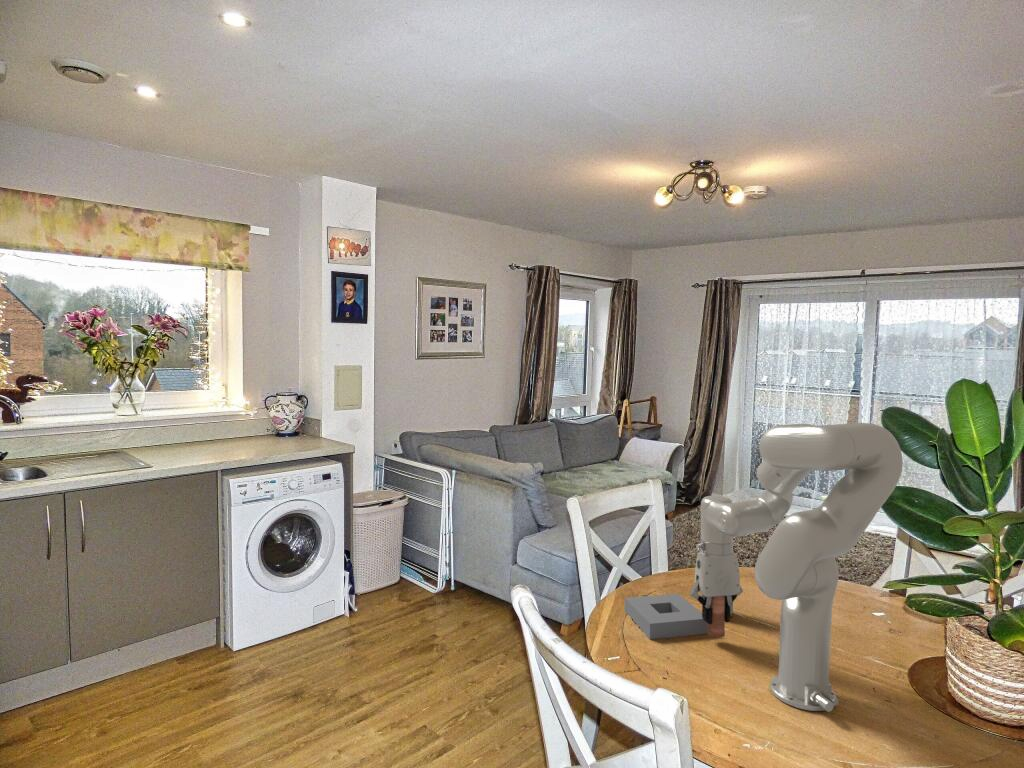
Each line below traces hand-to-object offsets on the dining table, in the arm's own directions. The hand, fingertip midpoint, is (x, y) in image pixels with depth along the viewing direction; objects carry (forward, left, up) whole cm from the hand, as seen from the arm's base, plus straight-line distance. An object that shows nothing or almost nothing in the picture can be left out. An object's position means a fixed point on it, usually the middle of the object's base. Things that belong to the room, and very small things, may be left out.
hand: (716, 620), depth 151 cm
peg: (0, 0, -3) cm, 3 cm away
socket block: (+13, +7, -6) cm, 16 cm away
